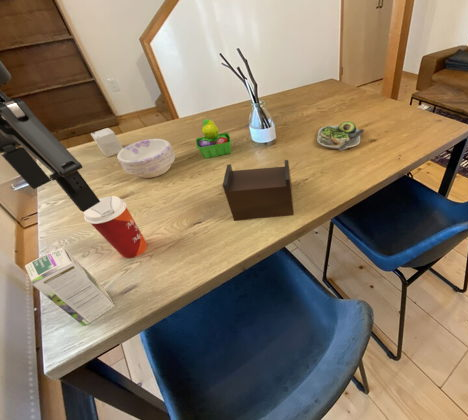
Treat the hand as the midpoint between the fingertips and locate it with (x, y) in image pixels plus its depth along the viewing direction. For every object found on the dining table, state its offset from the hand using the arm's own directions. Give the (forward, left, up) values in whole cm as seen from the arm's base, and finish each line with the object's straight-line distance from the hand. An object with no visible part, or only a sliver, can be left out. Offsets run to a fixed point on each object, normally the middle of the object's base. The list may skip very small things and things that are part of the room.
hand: (65, 194), depth 46 cm
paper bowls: (+43, +8, -23) cm, 49 cm away
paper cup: (+8, +2, -23) cm, 25 cm away
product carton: (+58, +27, -23) cm, 68 cm away
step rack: (+22, -29, -23) cm, 43 cm away
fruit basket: (+52, -11, -23) cm, 58 cm away
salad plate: (+55, -57, -23) cm, 82 cm away
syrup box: (-7, +4, -23) cm, 25 cm away
